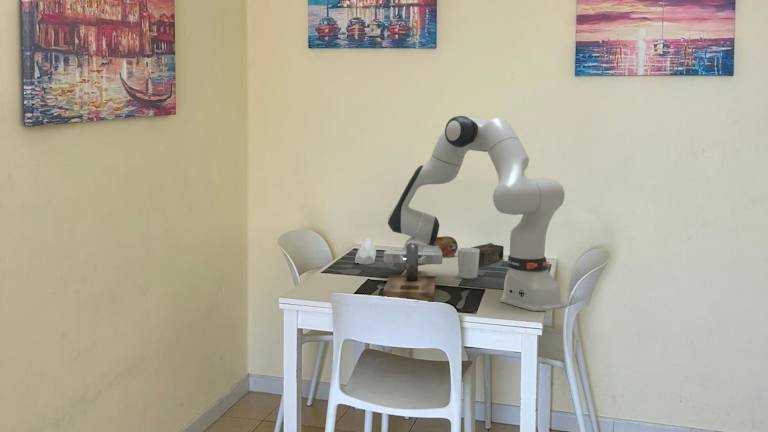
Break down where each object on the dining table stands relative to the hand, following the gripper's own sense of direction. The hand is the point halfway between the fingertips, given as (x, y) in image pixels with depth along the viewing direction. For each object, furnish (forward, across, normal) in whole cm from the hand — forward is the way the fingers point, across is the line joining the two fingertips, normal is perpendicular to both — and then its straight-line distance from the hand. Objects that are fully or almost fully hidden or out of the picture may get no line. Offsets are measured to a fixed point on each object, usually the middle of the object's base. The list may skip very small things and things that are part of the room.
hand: (411, 261), depth 289 cm
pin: (-1, 0, +7) cm, 7 cm away
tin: (-57, +7, +10) cm, 59 cm away
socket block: (+4, 0, +10) cm, 10 cm away
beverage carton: (-49, +25, +10) cm, 56 cm away
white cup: (-22, +19, +10) cm, 31 cm away
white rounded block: (-49, -21, +10) cm, 55 cm away
